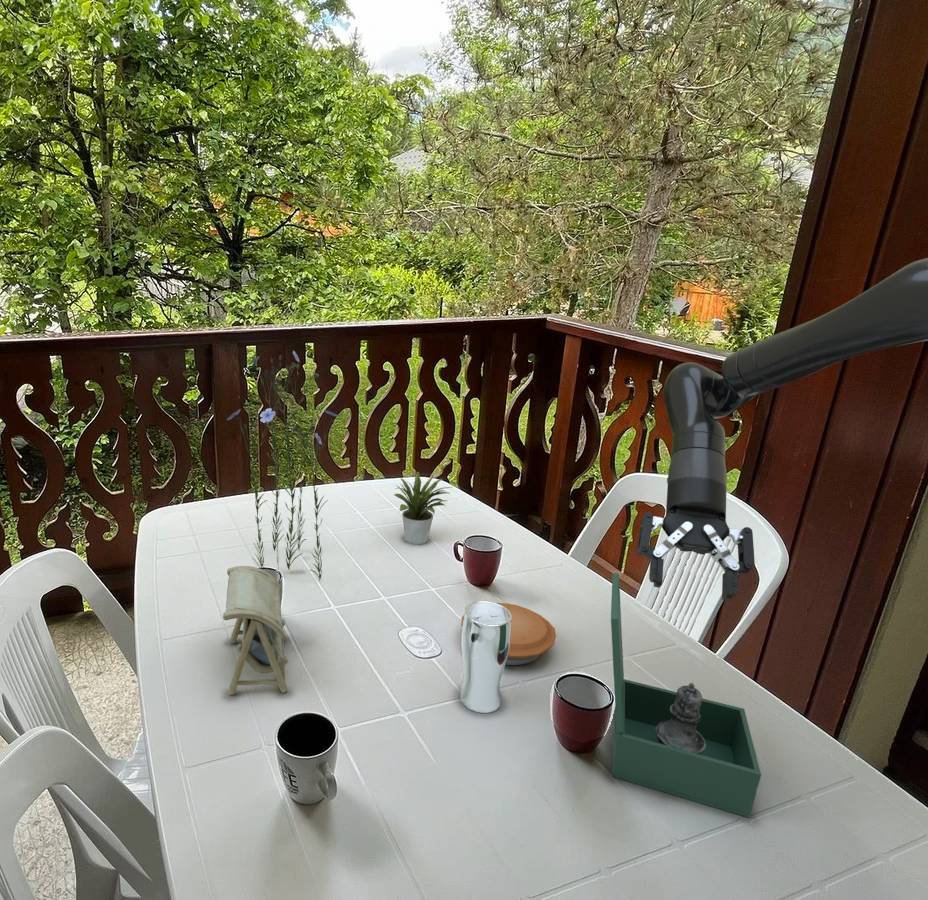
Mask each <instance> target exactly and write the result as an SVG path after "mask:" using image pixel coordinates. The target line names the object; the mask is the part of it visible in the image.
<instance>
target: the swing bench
mask: <svg viewBox="0 0 928 900" xmlns="http://www.w3.org/2000/svg"><path fill="white" fill-rule="evenodd" d="M226 571H227V572H226V574H227V576H228V578H227V589H226V602H225V612H223V614H222V619H223V620H224V621H229V620H235V619H236V620H235V623H234V627H233V630H232V633H231V635H230V639H229V642H230V643H231V644H236V642H237V640H238V637H239V636H242V642H240V643H238V644H237V651H238V652H239V656H238V659H237V663H236V665H235V668H234V671H233V674H232V678H231V680H230V684H229V687H228V690H227V693H228V695H229V696H234V695H235V694H236V690H237V687H241V686H269V685H277V686H278V687H279V690H280V692H281V693H282V694H285V693H287V692H288V686H287V683H286V665H287V664H288V663H289V659H288V656H286V655H285V641H286V639H287V636H286V633H285V631H284V629H283V628H284V627H285V625H286V621H285V619H283V617H282V607H281V606H282V605H281V604H282V603H281V591H282V586H281V583H280V582H279V581H278V580H277V578H275V577H274V575H272V574H271V573H269V572H268V571H266V570H265V569H264V570H263V568H262V569H261V567H260V568H259V567H255V566H251V565H237V566H232V567H228V569H227V570H226ZM242 625H243V626H242ZM241 627H242V630H241ZM246 662H247V663H248V665H249V666H250V668H251V669H253V670H254V671H255V672H257V673H259V674H262V675H263V674H265V675H269V674H271V673H273V675H274V677H275V678H273V679H249V680H248V679H246V680H244V679H243V680H240V678H241V676H242V672H243V669H244V666H245V664H246Z"/></svg>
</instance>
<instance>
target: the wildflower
mask: <svg viewBox="0 0 928 900" xmlns="http://www.w3.org/2000/svg"><path fill="white" fill-rule="evenodd" d="M292 355H293V357H294V359H295V361H296V362H298V363H297V364H296V363H295V362H291V363H290V364H288V365H285V370H286V371H287V374H284V379H283V380H282V377H283V375H282V377H281V378H280V371H281V368H279V367H281V366H282V363H279V366H278V365H277V367H276V365H274V364H273V363H274V358H273V357H270V363H271V366H270V367H271V369H272V370H270V371H268V370H267V369H265V371H263V369H262V367H261V366H260V364H259V363H257V365H258V366H257V365H256V363H255V362H258V360H259V358H260V356H256V357H255V358H253V359H252V360H250V362H248V366H251V365H252V366H251V369H253V370H255V371H256V372H257V374H258V376H259V379H260V383H261V385H262V387H263V389H264V394H265V395H264V399H265V401H266V403H268V404H269V406H271V402H272V404H273V407H272V408H271V407H269V408H266V409H265V410H264V411H261V413H260V415H259V417H260V422H261V423H263V424H264V426H265V428H264V432H263V429H262V428H261V430H260V431H261V437H262V438H261V442H260V444H259V446H258V449H257V452H255V455H254V457H253V461H252V459H250V462H251V467H252V468H254V466H255V464H256V462H257V460H258V459H259V458H260V456H259V455H260V453H261V451H259V450H260V448H261V446H262V445H263V443H264V442H265V441H266V439H264V438H265V437H266V436H267V432H268V431H269V428H270V430H271V436H272V437H271V438H272V448H273V450H272V449H271V448H269V450H270V453H271V456H272V457H271V456H270V454H269V453H268V452H265V453H266V455H267V456H268V458H269V461H270V463H271V464H272V466H273V467H272V466H271V465H268V467H269V468H270V469H271V470H272V472H273V473H274V476H275V477H274V476H273V474H272V473H270V472H267V471H265V474H268V475H270V476H271V478H273V480H274V481H275V493H274V490H273V488H272V487H271V492H272V494H273V495H274V496H275V502H274V501H273V504H274V507H275V510H274V512H273V513H274V516H272V520H271V521H270V522H271V524H272V529H273V530H272V531H271V532H272V549H273V551H274V552H276V553H279V542H280V541H281V540H282V538H283V537H285V534H282V535H281V537H280V538H279V535H280V533H281V532H282V529H281V530H279V529H280V526H281V525H282V522H283V519H280V517H281V514H282V512H280V513H279V515H278V512H279V508H278V505H279V496H280V492H281V489H279V487H281V488H283V490H285V491H286V492H287V493H288V495H289V496H290V497H291V498H290V499H291V507H290V508H289V507H288V504H287V502H285V507H286V508H287V510H288V511H289V512H290V513H291V519H290V518H289V517H287V520H288V521H289V522H288V532H289V533H288V532H286V538H284V540H285V542H286V546H287V547H285V555H286V558H285V561H286V568H287V569H288V570H290V567H291V565H292V564H293V563H294V561H295V560H296V559H297V558H298V557H299V556H301V555H303V553H302V552H301V553H299V554H298V555H296V556H295V557H294V558H293V560H292V557H293V556H294V554H295V552H296V551H298V550H300V548H301V546H302V544H303V543H304V542H305V541H306V540H307V538H304V539H302V536H303V534H304V533H305V531H302V530H303V528H304V524H305V521H306V518H304V519H303V516H304V512H302V498H301V497H299V495H300V496H302V493H303V490H304V488H303V487H304V484H306V483H307V481H308V480H309V477H308V475H309V474H308V473H309V472H310V471H311V473H312V477H311V478H310V481H311V482H310V483H311V484H312V486H313V494H314V495H313V498H314V506H315V507H314V514H315V519H316V522H315V524H314V526H313V528H314V529H315V532H316V533H315V534H316V548H317V549H316V548H315V547H313V549H314V553H315V554H314V553H313V552H312V551H310V554H311V555H312V557H313V560H314V561H315V562H316V563H311V564H312V565H313V566H314V567H315V568H316V570H317V571H316V570H313V569H310V572H311V571H312V572H313V573H315V574H316V575H317V577H318V579H319V582H321V579H322V574H323V573H322V572H323V569H322V567H323V566H322V565H323V560H322V555H323V549H322V546H321V541H320V540H319V539H320V535H321V533H319V532H318V529H319V528H320V526H321V524H322V521H323V518H321V519H320V524H318V515H319V513H320V511H321V509H322V508H323V506H324V504H322V505H321V506H320V504H321V503H322V500H323V499H324V497H325V494H324V495H323V496H322V497H321V499H320V500H319V497H318V496H317V493H318V489H319V487H317V488H316V485H315V484H316V482H317V481H318V478H319V477H317V478H315V476H314V475H315V474H314V473H315V471H316V469H317V468H318V466H319V463H320V462H321V460H320V459H321V458H322V455H321V452H322V449H324V447H325V444H326V443H327V442H328V441H329V439H327V438H328V435H330V434H329V433H330V431H331V428H332V427H333V426H332V425H334V423H335V420H334V419H332V418H333V417H338V418H340V415H339V414H337V413H335V412H332V411H330V410H329V411H328V410H325V409H324V410H323V412H325V413H326V414H328V415H330V421H329V423H328V424H327V430H326V433H325V431H324V430H323V438H324V440H323V443H322V439H321V436H322V435H319V433H318V432H319V430H320V427H318V426H320V425H321V422H318V424H316V426H315V425H313V420H314V419H310V420H309V422H310V424H311V426H308V427H307V432H305V433H303V429H302V428H301V427H302V426H301V422H302V418H301V417H299V418H298V422H299V425H296V422H293V421H296V417H297V412H298V411H300V408H299V409H298V407H299V405H300V403H301V402H303V401H304V399H305V398H306V397H308V396H309V395H310V394H306V393H307V392H308V391H309V389H310V388H311V387H312V385H313V383H314V381H315V380H316V379H317V378H319V377H320V375H319V374H318V373H317V372H313V374H312V375H311V373H309V378H308V379H309V381H308V383H307V386H305V383H304V382H303V383H302V385H303V395H302V397H301V399H300V401H299V403H298V404H297V406H296V408H295V409H294V411H291V412H290V416H289V419H288V423H287V422H286V414H285V411H286V409H285V408H286V407H285V406H286V401H287V400H288V398H289V401H290V404H291V408H293V406H294V402H295V397H296V395H297V393H298V391H299V390H300V387H301V386H302V385H300V387H298V388H297V389H296V387H297V380H298V379H299V374H300V373H299V369H300V359H299V356H298V354H297V353H296V351H295V350H292ZM278 357H279V358H278V360H279V361H281V360H282V354H280V355H279V356H278ZM295 368H296V369H297V370H296V375H295V374H293V375H292V373H293V370H294V369H295ZM258 371H259V372H258ZM262 371H263V372H262ZM276 372H277V374H276ZM262 374H263V376H264V377H265V378H266V384H267V390H268V391H269V392H268V393H270V395H269V397H268V394H267V392H266V391H267V390H266V387H265V380H264V378H263V376H262ZM293 377H294V378H293ZM279 378H280V379H279ZM292 379H294V384H295V386H294V390H293V389H292V390H291V391H292V394H293V397H292V398H293V399H292V398H291V393H288V390H286V391H285V396H284V394H283V391H284V390H285V389H286V388H288V386H289V384H290V385H291V386H293V383H292ZM312 379H313V380H312ZM269 381H270V388H269ZM311 381H312V382H311ZM310 383H311V384H310ZM283 384H284V385H283ZM282 385H283V388H282ZM309 385H310V386H309ZM279 386H280V387H279ZM280 390H281V392H280ZM272 391H273V392H272ZM294 391H295V392H294ZM279 392H280V394H279ZM273 393H274V394H273ZM287 394H288V395H287ZM271 395H272V397H273V398H272V400H271ZM275 396H276V397H275ZM281 399H282V400H283V408H282V404H281ZM278 409H279V410H280V412H281V413H282V414H283V418H284V423H285V427H286V432H283V433H284V434H283V437H284V439H285V442H286V450H287V451H286V452H287V453H286V458H287V461H288V464H287V462H286V461H285V460H283V462H284V465H285V468H286V470H285V469H284V467H283V466H282V465H281V464H280V463H279V456H280V454H279V447H278V446H277V437H276V436H277V431H275V434H274V428H275V429H278V428H277V424H278V420H279V416H278V415H279V412H277V411H279V410H278ZM239 413H241V409H237V411H235V412H233V413H231V415H229V416H228V417H227V418H226V420H227V421H230V420H232V419H233V418H234V419H236V420H237V422H239V423H238V425H239V427H240V431H241V434H242V436H243V438H244V441H245V444H244V447H245V449H246V451H247V452H248V453H249V457H250V458H252V454H251V450H250V449H251V442H252V443H253V447H256V444H257V439H258V437H259V434H260V432H258V433H256V436H252V437H251V434H252V433H251V432H252V430H251V429H253V431H255V429H254V428H253V427H254V426H255V427H257V425H258V423H254V422H258V420H259V419H258V410H256V411H255V418H256V420H253V419H251V418H249V422H250V425H249V424H246V423H244V424H243V425H241V424H242V420H241V418H240V415H239V416H238V414H239ZM247 414H248V417H251V414H252V413H251V412H250V411H248V412H247ZM332 416H333V417H332ZM320 419H321V415H320V416H317V420H318V421H320ZM292 422H293V425H294V427H293V428H292V434H291V435H290V434H289V433H288V428H289V426H290V425H291V424H292ZM243 427H244V428H245V429H244V428H243ZM248 427H249V435H248V434H246V435H245V431H246V432H248V430H247V428H248ZM316 427H317V428H316ZM309 428H310V429H309ZM315 429H316V431H317V432H315ZM295 432H296V434H297V435H298V437H299V438H300V439H299V441H300V444H301V445H302V446H303V448H304V450H303V448H301V445H298V442H299V441H294V443H295V446H296V447H295V448H299V450H296V452H297V453H296V454H297V455H299V453H300V454H303V452H304V453H305V454H304V455H303V461H302V462H301V468H303V467H304V465H305V464H306V460H307V461H308V462H309V463H310V465H309V468H308V471H307V474H306V475H305V478H304V480H303V483H302V484H301V485H299V487H298V489H299V492H300V494H299V495H297V496H298V501H299V502H298V505H299V507H298V512H297V518H296V519H297V521H298V523H297V526H296V528H297V530H295V532H294V533H293V530H294V514H295V512H296V510H297V508H296V507H297V505H294V499H295V496H296V495H295V494H296V489H295V486H296V482H297V484H299V481H298V479H296V477H295V475H294V474H295V471H296V469H297V473H298V475H299V478H300V479H302V478H303V474H301V471H300V470H301V469H299V467H298V466H299V463H297V465H298V466H297V465H296V464H295V461H294V460H292V457H293V456H292V450H291V449H292V447H293V445H291V446H290V447H289V439H290V438H292V437H293V436H294V433H295ZM313 435H314V438H315V439H316V440H315V441H316V445H315V443H313ZM246 437H247V438H249V437H251V438H250V439H246ZM254 438H255V440H253V439H254ZM309 438H311V441H310V445H311V447H310V445H309ZM293 439H294V440H296V437H293ZM305 439H306V440H305ZM247 441H248V442H247ZM248 445H249V446H248ZM320 445H321V446H322V447H321V446H320ZM307 448H308V449H309V454H308V451H307ZM313 449H314V452H313V455H312V450H313ZM318 452H319V454H318ZM317 454H318V456H317ZM291 462H292V463H291ZM313 462H314V465H312V464H313ZM280 467H281V469H282V471H283V474H284V475H285V477H286V478H287V480H288V481H287V480H286V479H284V478H281V479H282V480H283V481H284V482H285V483H286V485H287V486H288V488H289V491H290V492H289V491H288V489H287V488H286V487H284V486H283V485H281V484H279V480H280V474H279V471H280ZM258 472H259V468H257V470H256V472H255V471H253V469H251V470H250V475H251V477H252V478H253V488H254V497H255V498H254V499H255V500H254V502H255V509H256V516H255V522H256V525H257V538H255V541H256V543H255V542H253V544H254V547H255V550H256V552H257V554H256V553H254V555H255V556H256V558H257V561H258V562H259V563H258V562H257V561H256V558H255V559H254V558H253V560H254V561H255V563H256V564H257V566H258V568H260V569H261V568H262V569H263V568H264V569H265V566H264V563H265V556H264V550H265V548H264V541H262V533H261V531H262V527H261V528H259V527H260V526H259V525H260V524H259V523H261V521H262V520H263V516H261V519H260V518H259V510H260V507H261V506H262V505H263V504H264V503H265V502H268V499H267V500H263V501H262V502H261V503H260V501H261V499H262V497H263V496H264V495H265V493H263V494H261V495H260V496H259V491H258V487H257V485H258V483H259V482H255V481H256V480H255V479H256V476H257V475H258ZM255 473H256V474H255ZM319 473H320V472H318V473H317V475H319ZM278 486H279V487H278ZM258 497H259V498H258ZM318 501H319V502H318ZM328 501H329V500H328V499H327V500H325V503H327V502H328ZM319 507H320V508H319ZM302 521H303V522H302ZM318 533H319V534H318ZM296 534H297V538H296ZM295 538H296V539H295ZM257 539H258V540H257ZM301 539H302V541H301ZM296 544H297V548H296V549H294V548H295V546H296ZM262 549H263V550H262ZM293 549H294V550H293ZM315 555H316V556H315ZM275 558H276V561H277V562H276V563H279V554H277V557H275ZM291 560H292V561H291ZM316 564H317V565H316ZM279 566H280V565H277V569H279V568H280V567H279ZM317 572H318V573H317Z"/></svg>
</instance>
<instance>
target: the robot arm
mask: <svg viewBox="0 0 928 900" xmlns="http://www.w3.org/2000/svg"><path fill="white" fill-rule="evenodd" d="M921 342H928V257H924V258H920V259H918V260H915V261H912V262H910V263H908V264H906V265H905V266H903V267H901V268H899V269H898V270H896V271H895V272H894V273H892V274H890V275H889V276H887V277H886V278H884V279H882V280H881V281H879V282H878V283H876V284H875V285H873V286H872V287H870V288H868V289H866V290H865V291H863V292H862V293H860V294H858V295H857V296H855V297H854V298H852V299H850V300H849V301H846V302H845V303H843V304H842V305H839V306H837V307H836V308H834V309H832V310H830V311H828V312H825V313H824V314H822V315H820V316H818V317H816V318H814V319H811V320H809V321H806V322H804V323H801V324H799V325H796V326H794V327H790V328H788V329H785V330H783V331H781V332H778V333H776V334H773V335H771V336H768V337H765V338H763V339H761V340H758V341H756V342H754V343H752V344H749V345H747V346H745V347H743V348H740V349H738V350H736V351H734V352H732V353H731V354H729V355H728V356H726V358H725V359H723V360H724V361H722V365H721V373H718V372H716V371H715V370H713V369H711V368H708V367H707V366H705V365H702V364H700V363H697V362H694V361H693V362H691V361H689V362H688V361H687V362H683V363H680V364H678V365H676V366H675V367H674V368H673V369H671V371H670V372H669V373H668V375H667V376H666V379H665V381H664V384H663V390H662V391H663V393H662V395H663V404H664V407H665V411H666V415H667V420H668V423H669V426H670V427H669V428H670V430H671V432H672V433H671V434H672V439H671V455H670V456H671V457H670V464H669V467H668V473H667V474H668V475H667V478H666V484H667V487H666V488H667V490H666V491H667V492H666V507H665V516H664V517H661V516H655V515H654V513H652V512H650V511H647V512H645V513H644V514H643V516H642V518H641V520H640V526H639V533H638V540H637V545H636V546H637V547H636V553H637V555H639V556H641V557H642V556H644V557H645V558H647V559H648V560H649V573H648V574H649V575H648V579H649V582H650V583H652V584H653V587H654V588H658V589H659V588H661V587H662V585H663V579H664V563H665V562H664V556H666V555H667V554H668V553H669V552H671V551H672V550H673V549H674V548H676V549H678V550H679V551H680V552H684V553H685V552H686V553H687V552H688V553H689V552H692V553H696V554H698V555H706V554H709V556H710V557H711V559H712V560H713V561H714V562H715V563H717V564H718V565H719V566H720V568H721V569H722V570H723V572H724V573H722V579H721V582H722V583H721V584H722V585H721V599H722V601H727V602H729V601H731V600H732V599H733V598H734V597H736V595H738V592H739V574H748V573H749V572H750V571H751V570H753V569H754V568H755V567H756V563H755V562H756V561H755V560H756V559H755V547H754V534H753V529H752V528H751V527H748V526H745V527H743V528H733V527H729V525H728V524H727V487H728V486H727V482H728V481H727V480H728V478H727V477H728V473H727V472H728V471H727V466H726V431H725V428H724V426H723V425H722V424H721V423H720V422H719V421H718V420H717V419H721V418H725V417H727V416H729V415H731V414H732V413H734V412H735V411H736V410H738V409H740V408H741V407H743V406H744V405H746V404H747V403H748V402H750V401H751V400H753V399H754V398H755V397H757V396H758V395H760V394H761V395H762V394H763V393H766V392H769V391H773V390H775V389H778V388H781V387H784V386H786V385H789V384H793V383H794V382H797V381H800V380H802V379H805V378H806V377H810V376H811V375H813V374H816V373H818V372H820V371H822V370H824V369H826V368H828V367H830V366H833V365H835V364H838V363H840V362H843V361H845V360H848V359H852V358H855V357H858V356H861V355H864V354H870V353H872V352H876V351H881V350H886V349H890V348H895V347H901V346H906V345H910V344H916V343H921ZM658 527H661V528H662V530H663V531H664V533H665V535H667V538H666V539H664V540H663V542H662V543H661V544H660V545H658V546H657V547H656V548H654V547H653V546H650V544H651V538H652V537H651V536H652V532H655V531H656V530H657V528H658ZM727 537H729V538H731V540H732V543H733V544H734V545H735V546H737V558H738V561H737V560H736V559H735V558H734V556H733V555H732V554H731V550H730V548H729V547H728V546H727V545H726V543H725V542H724V540H725V539H727Z"/></svg>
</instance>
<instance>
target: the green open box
mask: <svg viewBox="0 0 928 900" xmlns="http://www.w3.org/2000/svg"><path fill="white" fill-rule="evenodd" d="M676 694H677V691H673V690H670V689H666V688H662V687H659V686H655V685H649V684H646V683H641V682H637V681H633V680H630V679H626V678H624V732H617V728H616V709H615V708H614V711H613V718H612V719H613V725H612V765H611V776H612V778H616V779H618V780H619V779H620V780H623V781H626V782H629V783H633V784H635V785H639V786H642V787H645V788H650V789H652V790H656V791H658V792H663V793H666V794H669V795H672V796H675V797H678V798H682V799H685V800H688V801H692V802H696V803H698V804H701V805H705V806H708V807H711V808H715V809H718V810H722V811H724V812H729V813H731V814H734V815H738V816H741V817H744V818H749V819H750V817H751V814H752V809H753V806H754V802H755V799H756V795H757V791H758V787H759V784H760V780H761V777H762V772H761V769H760V765H759V761H758V757H757V754H756V753H757V752H756V749H755V746H754V742H753V737H752V734H751V730H750V726H749V722H748V718H747V715H746V710H745V708H742V707H739V706H735V705H730V704H726V703H723V702H719V701H715V700H711V699H706V698H703V697H702V701H701V706H700V710H699V713H700V714H701V720H700V721H699V722H697V727H696V731H697V732H699V733H700V734H701V735H702V737H703V738H704V740H705V742H706V748H705V750H704V751H703V752H702V753H701V754H696V753H692V752H689V751H685V750H682V749H678V748H674V747H671V746H667V745H664V744H660V743H659V742H658V739H657V735H656V731H655V729H656V726H657V725H658V724H659V723H660V722H663V721H670V719H671V715H672V713H671V711H670V706H671V705H673V704H675V699H676Z"/></svg>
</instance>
